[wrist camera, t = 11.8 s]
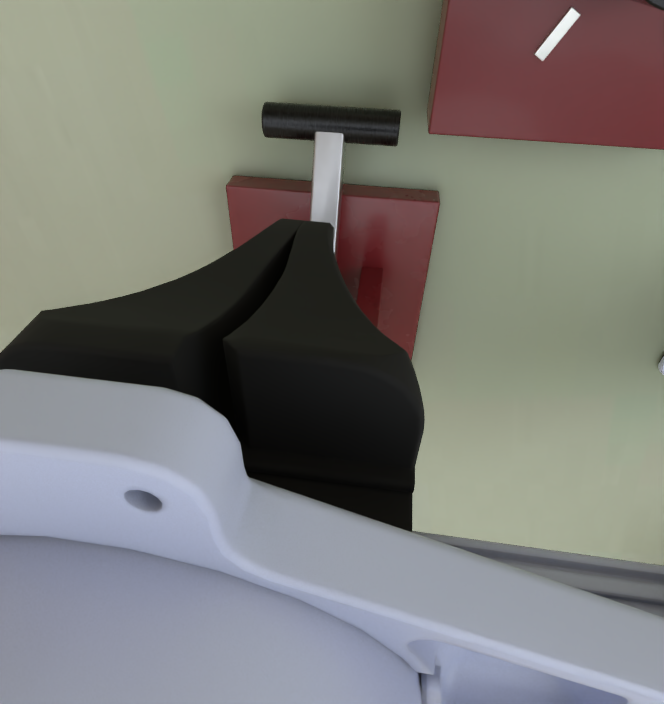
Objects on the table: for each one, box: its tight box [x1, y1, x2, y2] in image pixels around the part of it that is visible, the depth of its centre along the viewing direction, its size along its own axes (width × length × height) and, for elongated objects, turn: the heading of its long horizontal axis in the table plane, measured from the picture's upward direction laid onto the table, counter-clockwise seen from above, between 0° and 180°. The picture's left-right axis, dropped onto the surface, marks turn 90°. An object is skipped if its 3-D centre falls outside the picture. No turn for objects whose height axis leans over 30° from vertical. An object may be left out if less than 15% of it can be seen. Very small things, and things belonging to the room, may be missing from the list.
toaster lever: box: [262, 102, 401, 261], centre depth 19 cm, size 11×5×2 cm, turn 178°
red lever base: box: [226, 176, 440, 360], centre depth 22 cm, size 11×9×7 cm
